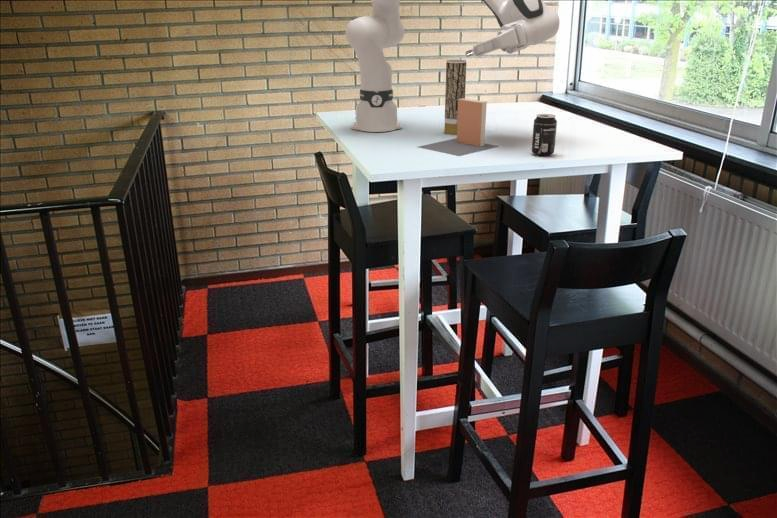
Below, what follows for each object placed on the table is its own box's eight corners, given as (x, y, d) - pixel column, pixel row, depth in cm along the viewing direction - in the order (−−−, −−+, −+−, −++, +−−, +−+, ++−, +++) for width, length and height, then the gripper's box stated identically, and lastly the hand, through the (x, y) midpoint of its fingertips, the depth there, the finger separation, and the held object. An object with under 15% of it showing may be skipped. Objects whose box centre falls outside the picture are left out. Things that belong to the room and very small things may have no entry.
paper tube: (441, 135, 231) (443, 61, 222) (447, 131, 237) (449, 59, 228) (460, 136, 229) (463, 61, 220) (465, 132, 235) (468, 59, 225)
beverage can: (531, 151, 207) (534, 113, 203) (553, 152, 206) (557, 113, 201) (531, 156, 201) (534, 117, 196) (554, 157, 200) (557, 117, 195)
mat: (457, 139, 225) (457, 137, 225) (499, 147, 213) (500, 146, 213) (416, 148, 212) (416, 146, 212) (459, 157, 200) (459, 156, 200)
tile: (460, 140, 220) (462, 98, 215) (484, 145, 214) (486, 101, 208) (456, 141, 219) (457, 99, 214) (479, 146, 212) (482, 102, 207)
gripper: (495, 33, 215) (457, 47, 213) (522, 22, 196) (480, 36, 194) (500, 52, 217) (463, 66, 215) (528, 43, 197) (487, 58, 195)
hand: (471, 52), depth 204 cm, fingers open, 8 cm apart
